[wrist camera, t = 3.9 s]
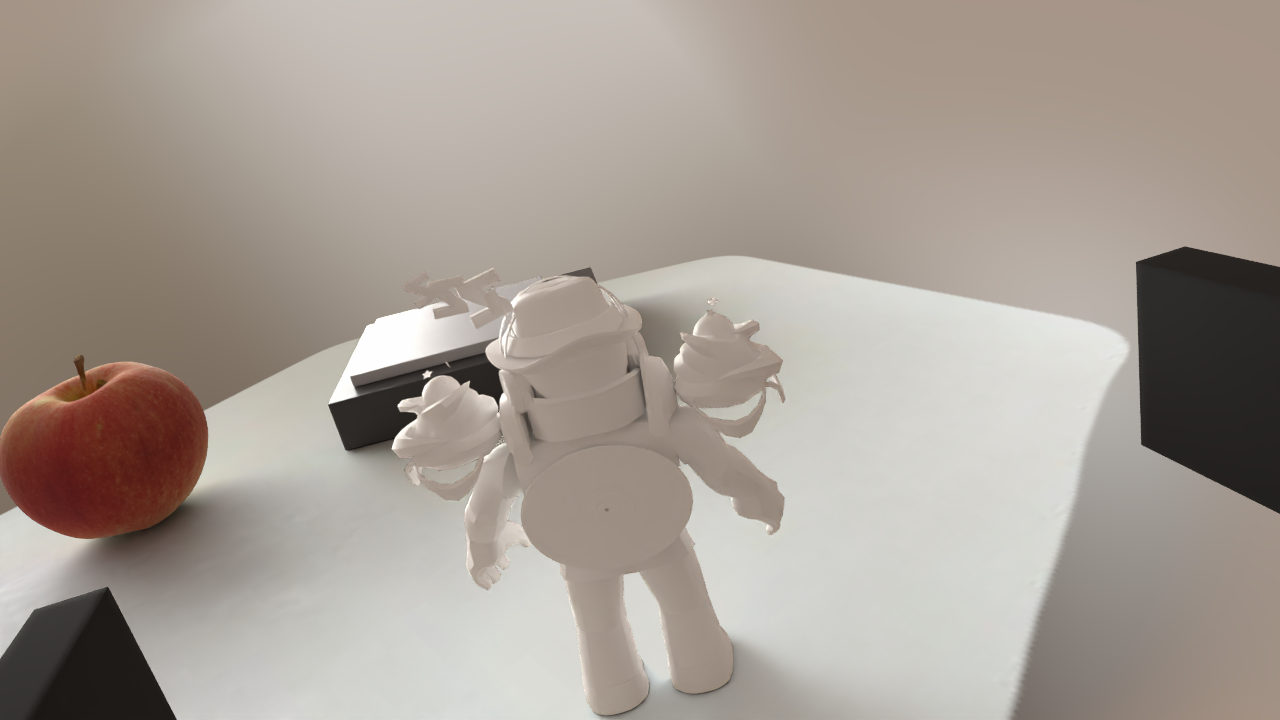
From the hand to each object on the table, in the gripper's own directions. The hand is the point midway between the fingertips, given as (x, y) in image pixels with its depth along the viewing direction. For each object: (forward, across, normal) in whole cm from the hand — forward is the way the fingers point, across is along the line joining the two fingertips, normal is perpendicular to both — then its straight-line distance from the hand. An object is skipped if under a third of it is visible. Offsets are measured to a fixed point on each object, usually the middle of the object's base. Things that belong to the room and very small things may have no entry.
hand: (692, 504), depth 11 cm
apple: (+32, -19, -10) cm, 38 cm away
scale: (+38, -2, -10) cm, 39 cm away
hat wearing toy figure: (+10, 0, -10) cm, 14 cm away
